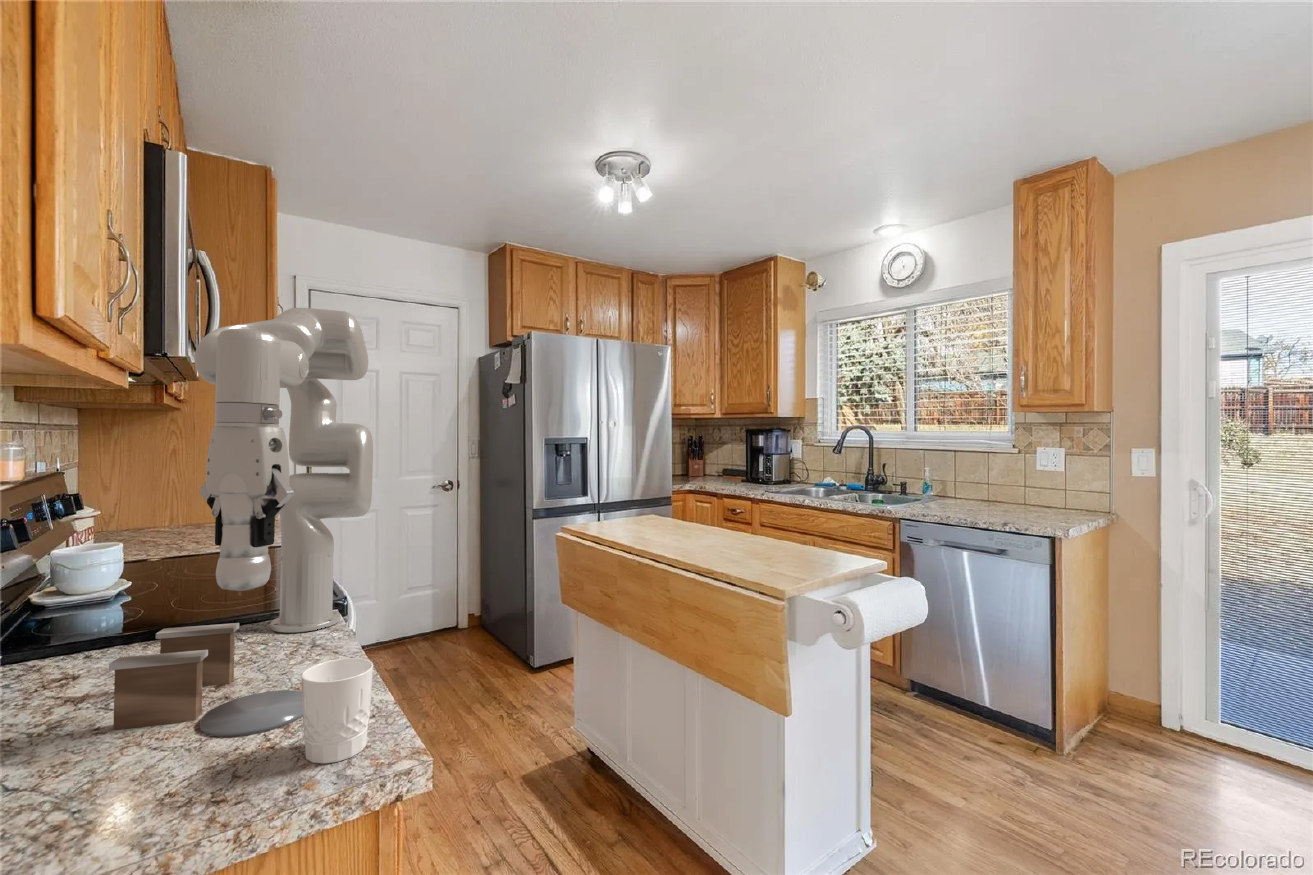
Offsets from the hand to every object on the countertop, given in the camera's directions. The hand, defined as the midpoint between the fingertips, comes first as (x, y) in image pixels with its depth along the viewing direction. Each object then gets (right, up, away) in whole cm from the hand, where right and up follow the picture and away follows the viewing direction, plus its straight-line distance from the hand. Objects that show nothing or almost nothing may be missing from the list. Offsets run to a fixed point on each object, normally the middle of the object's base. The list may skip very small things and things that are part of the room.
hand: (244, 543), depth 83 cm
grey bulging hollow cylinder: (0, -7, 0) cm, 7 cm away
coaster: (+3, -24, -1) cm, 24 cm away
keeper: (-11, -24, +3) cm, 26 cm away
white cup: (+19, -24, -10) cm, 32 cm away
